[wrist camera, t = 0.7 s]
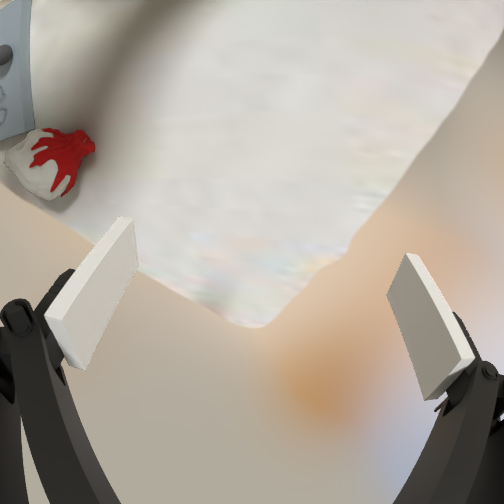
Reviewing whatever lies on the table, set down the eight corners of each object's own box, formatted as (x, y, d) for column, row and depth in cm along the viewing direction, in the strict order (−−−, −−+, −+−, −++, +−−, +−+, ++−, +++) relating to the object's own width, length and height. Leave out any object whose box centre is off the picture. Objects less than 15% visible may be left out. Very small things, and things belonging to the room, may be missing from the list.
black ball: (3, 48, 24) (-12, 50, 21) (16, 40, 24) (1, 41, 21) (3, 67, 26) (-12, 70, 23) (16, 60, 26) (1, 62, 23)
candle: (22, 145, 36) (89, 98, 34) (49, 202, 41) (117, 163, 40) (-11, 159, 28) (58, 102, 26) (20, 225, 33) (93, 182, 32)
